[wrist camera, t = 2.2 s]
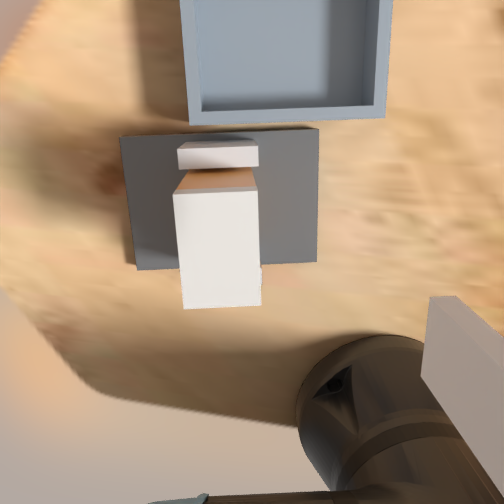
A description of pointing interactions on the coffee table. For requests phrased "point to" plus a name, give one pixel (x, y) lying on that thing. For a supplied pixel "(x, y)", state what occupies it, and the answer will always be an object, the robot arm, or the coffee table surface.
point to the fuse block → (225, 156)
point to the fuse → (218, 238)
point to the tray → (285, 60)
